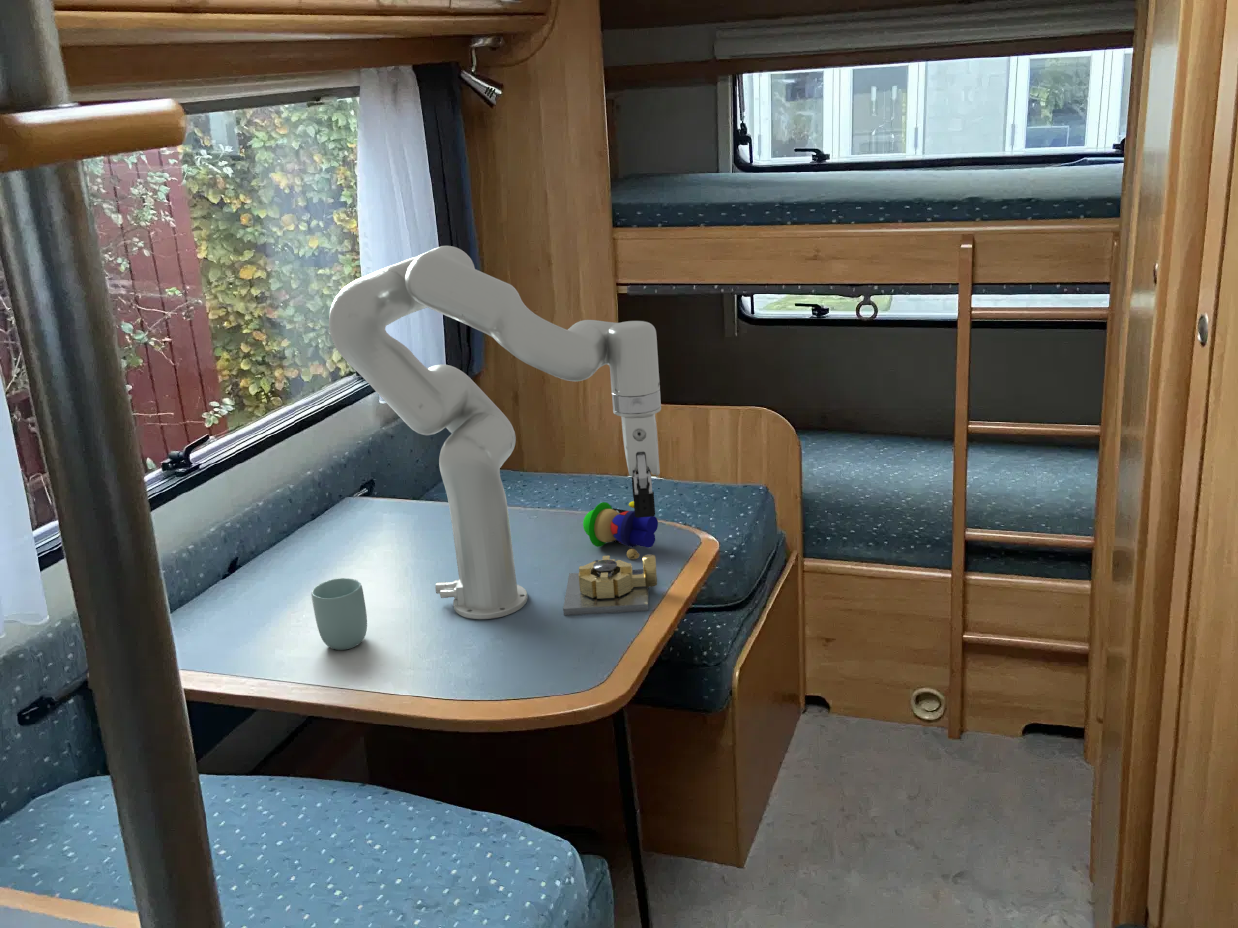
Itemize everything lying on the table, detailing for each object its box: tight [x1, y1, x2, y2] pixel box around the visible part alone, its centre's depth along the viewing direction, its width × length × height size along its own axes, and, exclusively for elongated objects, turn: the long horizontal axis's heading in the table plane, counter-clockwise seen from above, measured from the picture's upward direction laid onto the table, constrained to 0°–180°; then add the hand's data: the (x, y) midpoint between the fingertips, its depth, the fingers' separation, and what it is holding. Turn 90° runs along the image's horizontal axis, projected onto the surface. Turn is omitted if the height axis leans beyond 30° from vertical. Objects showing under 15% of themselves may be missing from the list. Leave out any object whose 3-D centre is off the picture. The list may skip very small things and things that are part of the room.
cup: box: [310, 577, 368, 651], centre depth 180 cm, size 8×8×10 cm
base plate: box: [562, 559, 650, 616], centre depth 191 cm, size 14×15×6 cm
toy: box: [582, 500, 659, 560], centre depth 209 cm, size 12×9×15 cm
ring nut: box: [578, 554, 658, 599], centre depth 190 cm, size 13×9×5 cm
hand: (643, 506), depth 180 cm, fingers open, 7 cm apart
